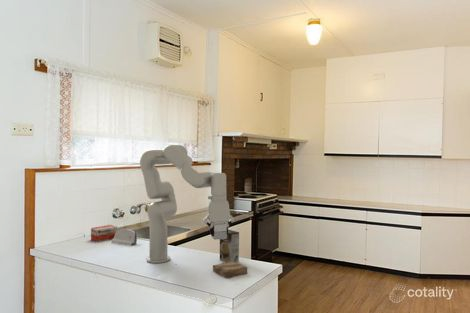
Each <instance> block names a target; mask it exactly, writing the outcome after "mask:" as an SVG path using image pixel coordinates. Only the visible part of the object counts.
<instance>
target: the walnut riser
mask: <svg viewBox="0 0 470 313" xmlns="http://www.w3.org/2000/svg"><path fill="white" fill-rule="evenodd" d="M212 272H213V273H214V274H216V275H219V276H221V277H223V278H225V279H231V278H234V277H239V276H244V275H247V274H248V266H246V265H242V264H240V263H239V262H237V263H236V262H234V261H231V262H227V263H226V262H223V263H218V264H213V265H212Z"/></svg>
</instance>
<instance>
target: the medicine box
mask: <svg viewBox="0 0 470 313" xmlns="http://www.w3.org/2000/svg"><path fill="white" fill-rule="evenodd" d="M117 230H118V226H116V225H113V224H107V225H102V226H101V225H100V226H97V227H96V226H95V227H91V228H90V239H91V241H94V242H101V241H107V240H113V239H114V236H115V233H116V231H117ZM112 238H113V239H112Z"/></svg>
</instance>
